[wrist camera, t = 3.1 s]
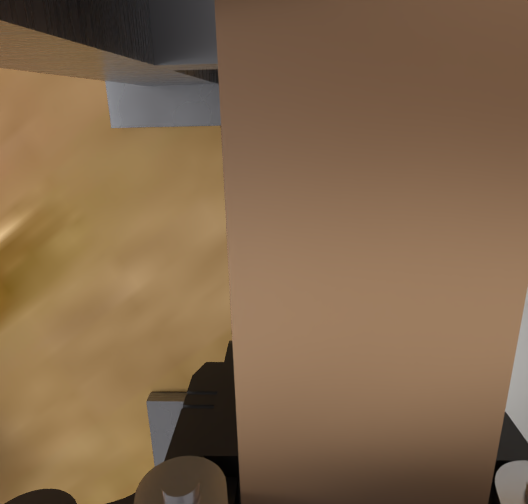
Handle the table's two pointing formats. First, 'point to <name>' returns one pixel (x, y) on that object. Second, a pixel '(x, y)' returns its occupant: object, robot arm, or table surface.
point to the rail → (373, 242)
